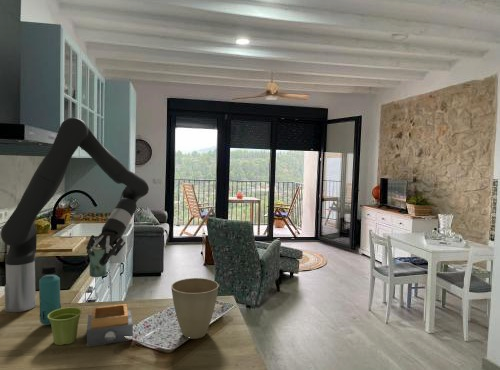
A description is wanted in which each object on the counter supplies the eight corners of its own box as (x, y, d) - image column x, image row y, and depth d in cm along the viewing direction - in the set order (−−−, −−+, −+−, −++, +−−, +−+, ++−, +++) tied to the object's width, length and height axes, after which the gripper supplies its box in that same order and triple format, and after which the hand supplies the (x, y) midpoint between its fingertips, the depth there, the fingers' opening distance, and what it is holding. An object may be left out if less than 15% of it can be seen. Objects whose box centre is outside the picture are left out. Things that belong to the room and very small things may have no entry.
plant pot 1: (89, 336, 120) (88, 309, 120) (65, 350, 111) (64, 321, 111) (65, 332, 123) (65, 305, 123) (40, 345, 114) (40, 316, 114)
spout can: (97, 271, 137) (97, 244, 136) (110, 273, 135) (109, 245, 135) (81, 277, 130) (80, 248, 129) (94, 279, 128) (94, 250, 127)
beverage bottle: (65, 321, 131) (64, 263, 130) (53, 329, 125) (52, 269, 123) (47, 320, 132) (46, 263, 131) (34, 328, 125) (33, 268, 124)
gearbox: (86, 349, 112) (86, 324, 112) (88, 329, 125) (88, 307, 125) (133, 342, 117) (132, 318, 116) (130, 324, 130) (130, 302, 129)
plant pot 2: (177, 348, 113) (177, 295, 112) (166, 328, 127) (166, 280, 126) (225, 339, 119) (225, 289, 118) (209, 321, 133) (210, 275, 132)
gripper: (96, 216, 142) (71, 255, 131) (129, 218, 137) (106, 259, 126) (106, 228, 147) (83, 266, 137) (138, 231, 142) (116, 271, 132)
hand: (94, 263), depth 132 cm, fingers closed on spout can, 5 cm apart
